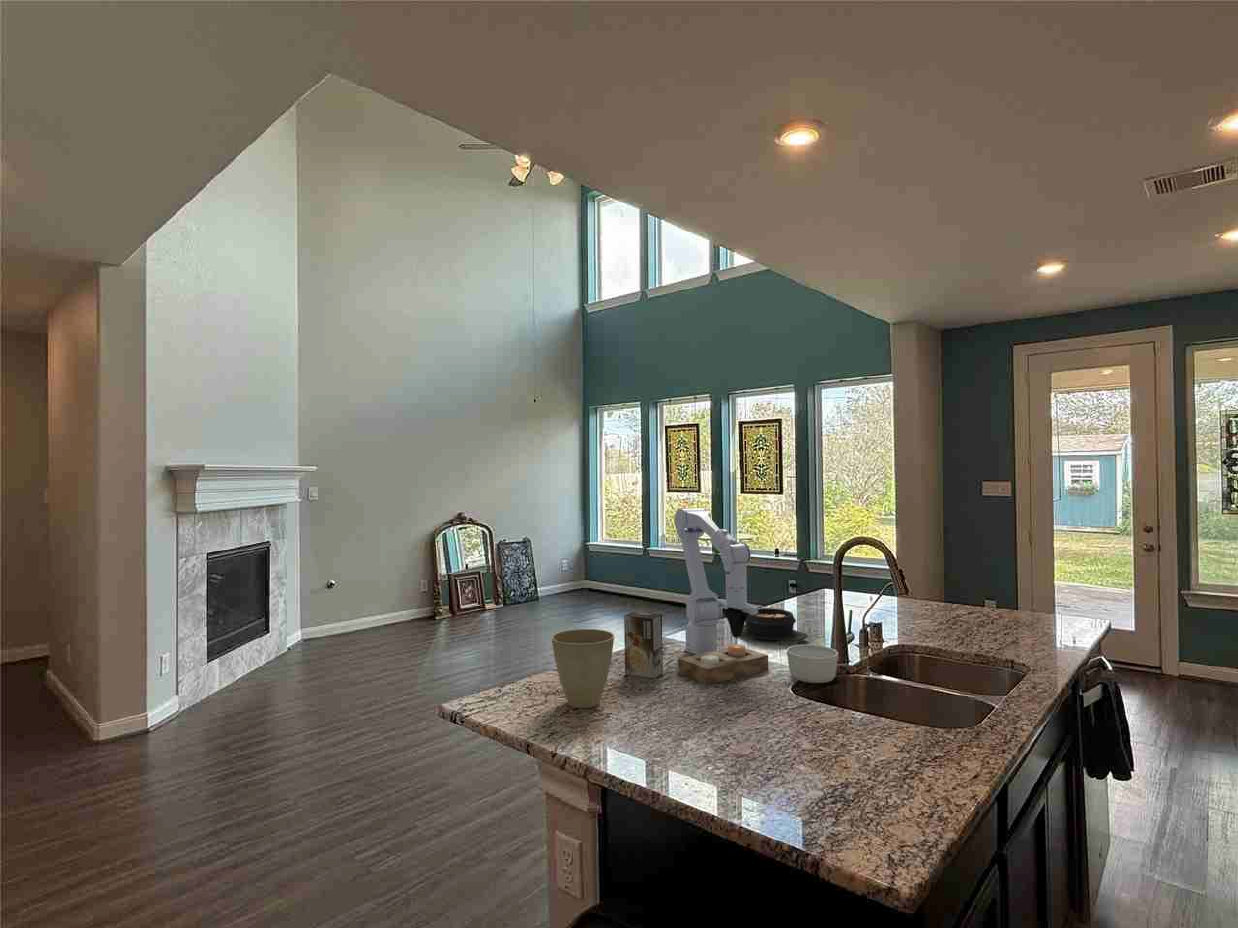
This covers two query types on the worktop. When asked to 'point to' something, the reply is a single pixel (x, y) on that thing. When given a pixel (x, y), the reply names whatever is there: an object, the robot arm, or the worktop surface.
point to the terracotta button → (736, 650)
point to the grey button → (709, 659)
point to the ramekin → (812, 663)
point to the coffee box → (643, 644)
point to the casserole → (772, 626)
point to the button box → (722, 666)
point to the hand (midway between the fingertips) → (736, 636)
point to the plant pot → (583, 664)
